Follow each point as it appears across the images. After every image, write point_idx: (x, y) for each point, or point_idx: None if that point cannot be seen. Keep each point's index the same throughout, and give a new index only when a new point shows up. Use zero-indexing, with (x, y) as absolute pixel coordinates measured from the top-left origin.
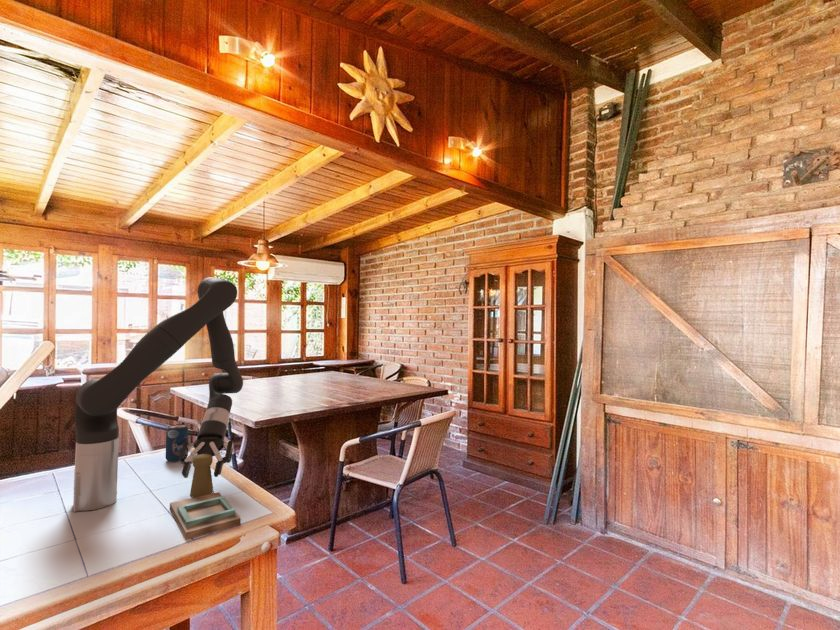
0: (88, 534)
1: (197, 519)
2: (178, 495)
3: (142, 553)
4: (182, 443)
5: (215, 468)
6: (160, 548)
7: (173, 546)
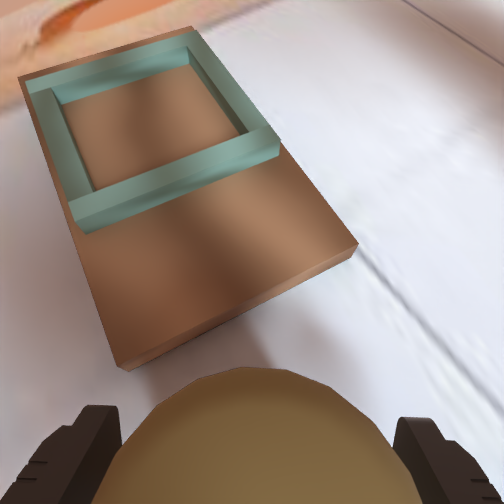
0: None
1: (163, 40)
2: None
3: (284, 11)
4: None
5: (81, 447)
6: (248, 22)
7: (217, 25)
